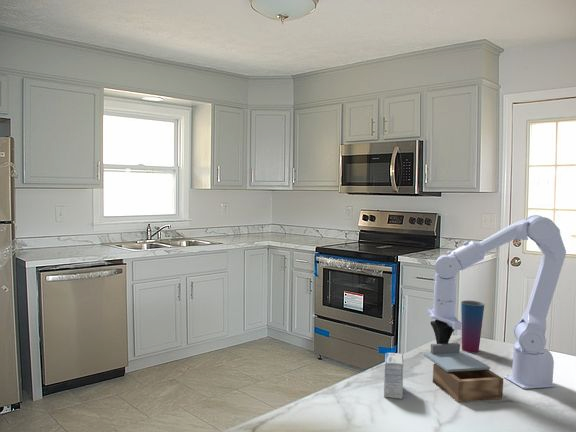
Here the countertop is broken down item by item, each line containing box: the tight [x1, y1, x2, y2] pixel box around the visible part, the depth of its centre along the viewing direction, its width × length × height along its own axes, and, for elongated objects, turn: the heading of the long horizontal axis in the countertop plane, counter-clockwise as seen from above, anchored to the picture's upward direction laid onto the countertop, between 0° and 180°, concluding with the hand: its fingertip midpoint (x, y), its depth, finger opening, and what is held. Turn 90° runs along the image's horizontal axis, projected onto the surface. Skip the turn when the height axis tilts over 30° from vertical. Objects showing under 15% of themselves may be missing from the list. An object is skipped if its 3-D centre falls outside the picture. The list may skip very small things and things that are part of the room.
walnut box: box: [432, 363, 504, 403], centre depth 126 cm, size 12×12×5 cm
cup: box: [460, 299, 485, 354], centre depth 157 cm, size 7×7×15 cm
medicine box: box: [383, 352, 404, 400], centre depth 124 cm, size 8×4×9 cm, turn 168°
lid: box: [423, 342, 491, 372], centre depth 131 cm, size 12×12×3 cm
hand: (442, 348), depth 138 cm, fingers closed
